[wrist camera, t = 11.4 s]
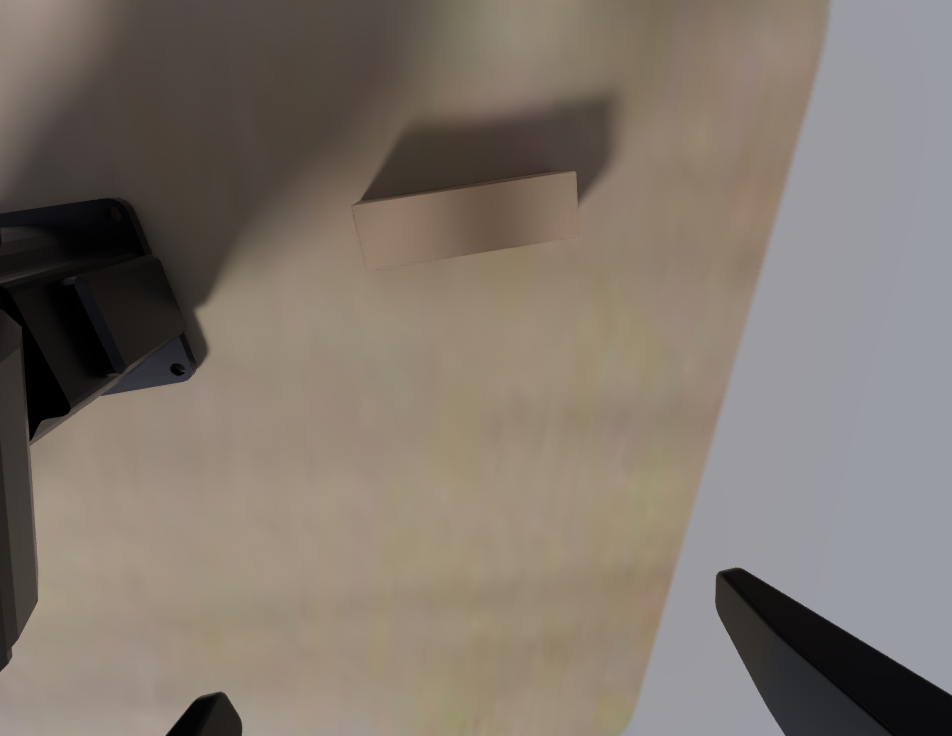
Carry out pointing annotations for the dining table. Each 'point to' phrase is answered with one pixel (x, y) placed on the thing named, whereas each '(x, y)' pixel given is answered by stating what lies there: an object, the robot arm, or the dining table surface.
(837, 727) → the robot arm
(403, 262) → the lens cradle
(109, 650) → the dining table surface
